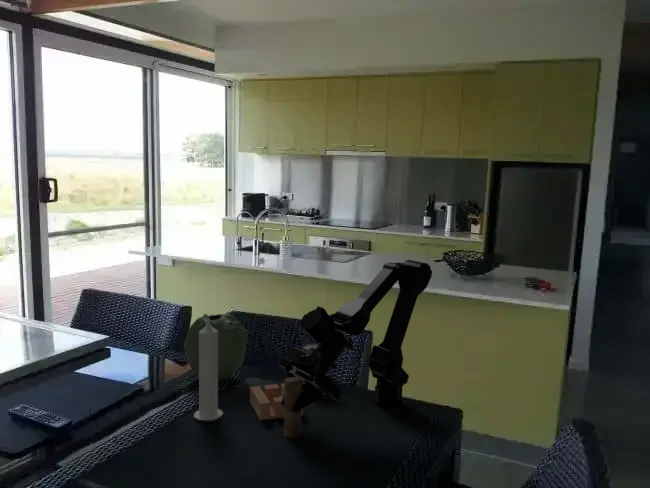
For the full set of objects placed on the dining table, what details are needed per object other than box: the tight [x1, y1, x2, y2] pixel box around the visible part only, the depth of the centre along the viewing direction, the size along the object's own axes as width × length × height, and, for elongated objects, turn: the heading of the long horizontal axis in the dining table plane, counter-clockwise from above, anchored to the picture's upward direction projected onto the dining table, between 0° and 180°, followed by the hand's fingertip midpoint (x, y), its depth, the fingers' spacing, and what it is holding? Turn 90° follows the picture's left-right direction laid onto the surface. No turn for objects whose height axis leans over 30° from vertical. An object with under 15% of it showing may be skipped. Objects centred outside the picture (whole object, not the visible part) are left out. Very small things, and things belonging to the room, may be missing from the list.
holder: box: [249, 382, 304, 421], centre depth 141 cm, size 11×11×4 cm
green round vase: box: [183, 311, 250, 382], centre depth 159 cm, size 16×19×20 cm
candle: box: [193, 318, 224, 420], centre depth 135 cm, size 7×7×25 cm
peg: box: [283, 377, 303, 439], centre depth 128 cm, size 4×4×13 cm
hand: (287, 408), depth 127 cm, fingers closed on peg, 4 cm apart
